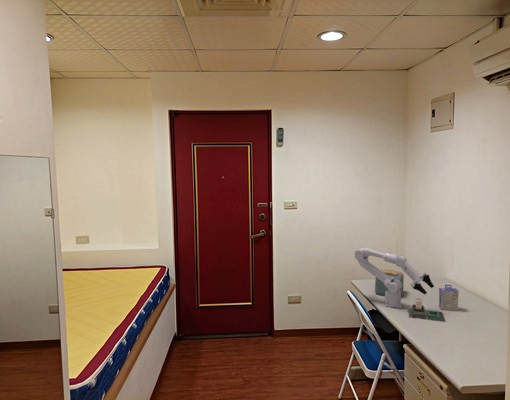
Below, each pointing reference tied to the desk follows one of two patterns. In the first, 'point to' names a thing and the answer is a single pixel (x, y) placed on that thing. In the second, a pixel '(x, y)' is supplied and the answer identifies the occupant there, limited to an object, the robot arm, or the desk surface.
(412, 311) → the jack panel
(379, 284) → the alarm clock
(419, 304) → the plug
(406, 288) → the desk surface
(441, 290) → the ink cartridge box
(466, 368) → the desk surface
